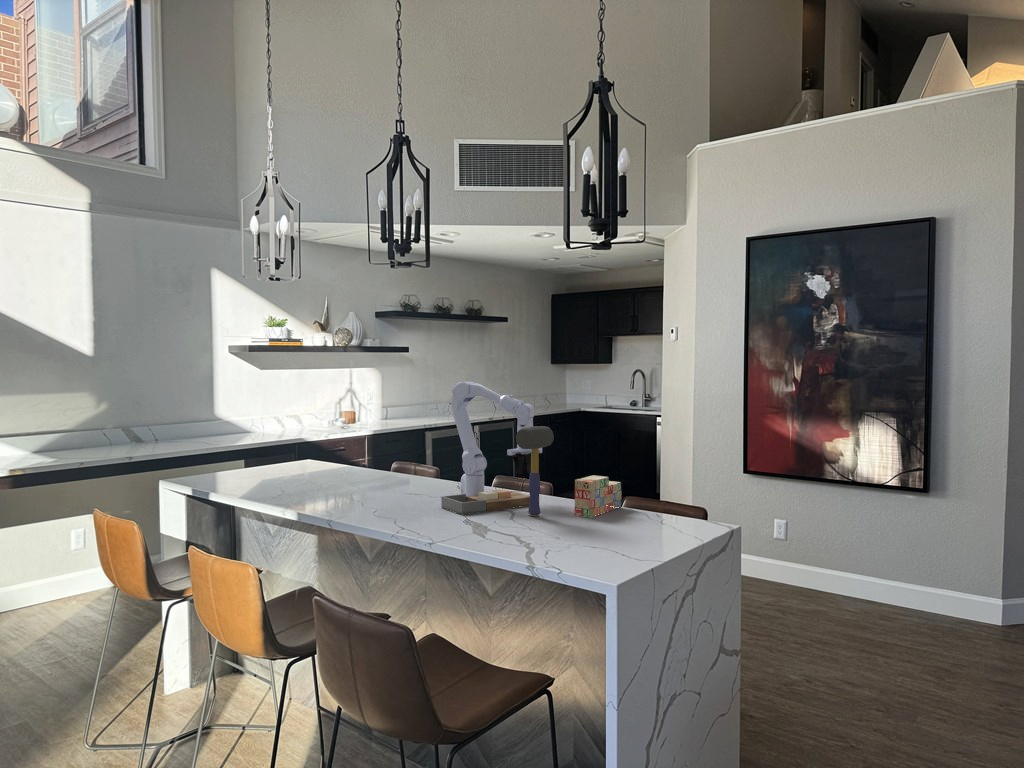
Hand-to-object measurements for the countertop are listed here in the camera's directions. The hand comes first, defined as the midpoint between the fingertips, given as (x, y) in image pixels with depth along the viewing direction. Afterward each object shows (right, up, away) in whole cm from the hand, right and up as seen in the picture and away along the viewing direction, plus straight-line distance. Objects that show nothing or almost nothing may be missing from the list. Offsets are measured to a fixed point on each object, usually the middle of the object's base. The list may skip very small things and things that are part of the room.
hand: (524, 473), depth 260 cm
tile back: (-9, -8, -6) cm, 13 cm away
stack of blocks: (+25, -11, -16) cm, 32 cm away
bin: (-21, -11, -15) cm, 28 cm away
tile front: (-13, -8, -9) cm, 18 cm away
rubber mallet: (+3, -11, -25) cm, 27 cm away
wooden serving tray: (-9, -11, -6) cm, 15 cm away
